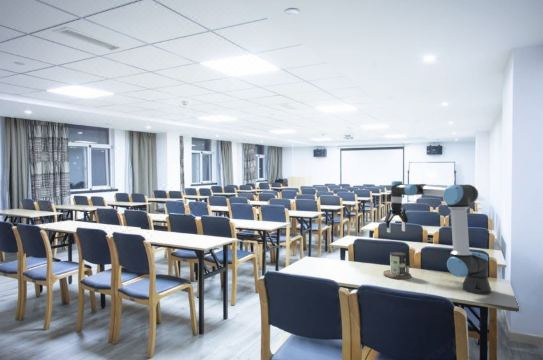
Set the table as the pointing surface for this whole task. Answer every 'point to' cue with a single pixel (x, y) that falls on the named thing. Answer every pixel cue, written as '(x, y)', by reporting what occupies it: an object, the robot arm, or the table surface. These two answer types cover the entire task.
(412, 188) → the robot arm
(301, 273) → the table surface
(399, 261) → the coffee can
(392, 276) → the locating disc
